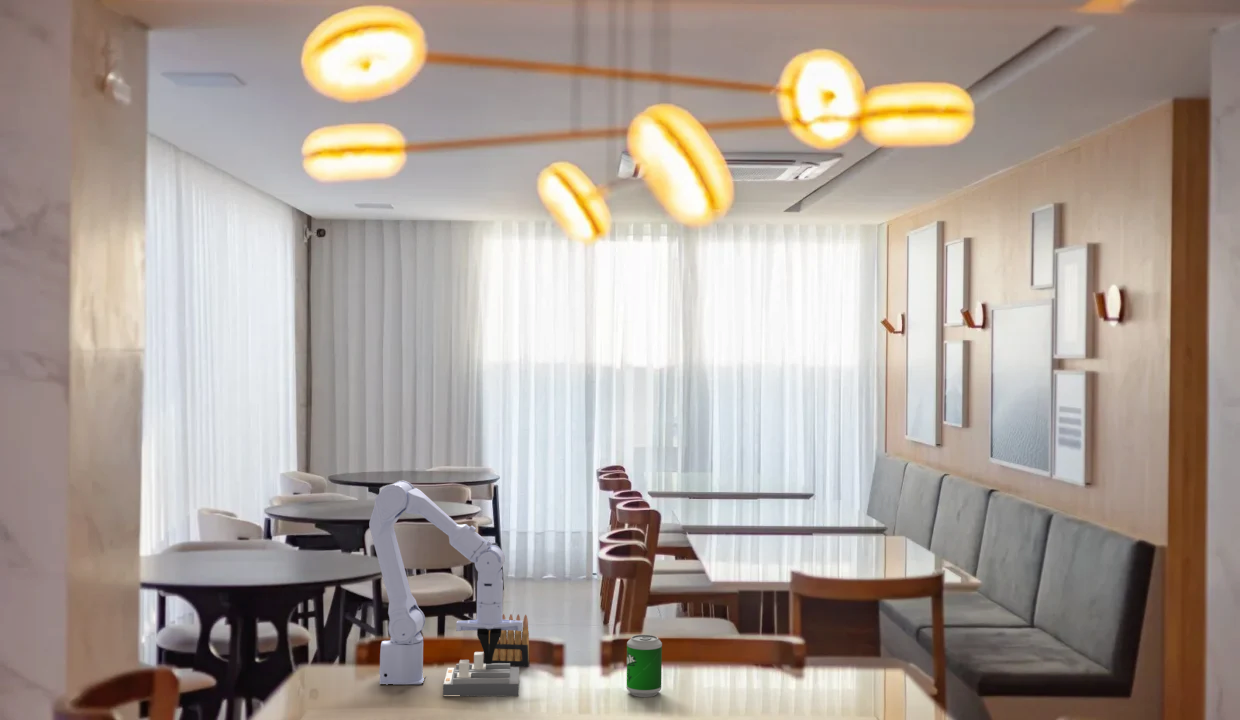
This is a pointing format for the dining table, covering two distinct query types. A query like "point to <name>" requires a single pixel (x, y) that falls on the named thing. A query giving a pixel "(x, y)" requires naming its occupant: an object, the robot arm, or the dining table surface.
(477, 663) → the tab far
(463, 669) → the tab near
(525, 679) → the dining table surface
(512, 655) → the ammunition clip
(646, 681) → the soda can
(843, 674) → the dining table surface
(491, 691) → the switch bank
